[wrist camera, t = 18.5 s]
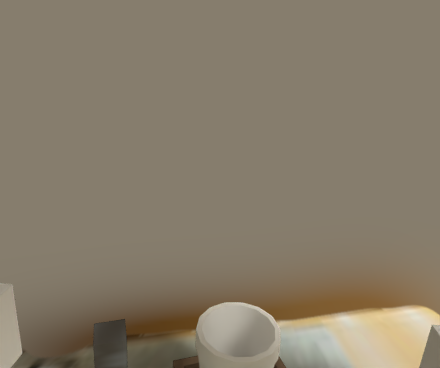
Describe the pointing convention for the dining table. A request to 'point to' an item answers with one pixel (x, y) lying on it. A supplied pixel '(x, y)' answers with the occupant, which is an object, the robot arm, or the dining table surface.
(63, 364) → the dining table surface
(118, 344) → the sliding frame
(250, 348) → the foam cup
